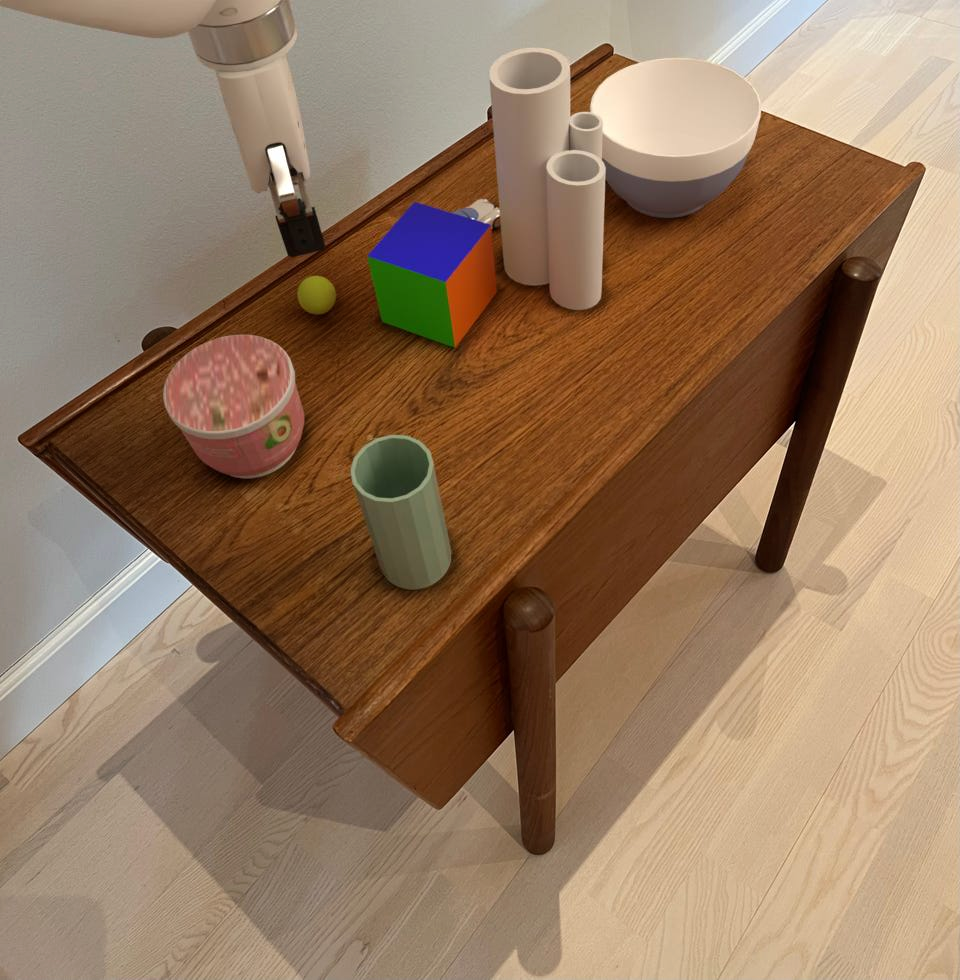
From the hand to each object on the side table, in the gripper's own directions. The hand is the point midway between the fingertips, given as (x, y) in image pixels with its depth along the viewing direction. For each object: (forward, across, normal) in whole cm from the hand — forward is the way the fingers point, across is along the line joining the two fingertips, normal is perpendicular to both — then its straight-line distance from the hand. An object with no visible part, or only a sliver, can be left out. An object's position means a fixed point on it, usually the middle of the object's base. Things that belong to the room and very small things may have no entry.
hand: (299, 215), depth 82 cm
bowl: (+12, -5, +36) cm, 39 cm away
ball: (+9, 0, -1) cm, 9 cm away
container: (+11, +15, -9) cm, 20 cm away
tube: (+11, +30, +2) cm, 32 cm away
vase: (+11, +3, +22) cm, 25 cm away
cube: (+11, +4, +10) cm, 16 cm away
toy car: (+11, -6, +16) cm, 21 cm away
